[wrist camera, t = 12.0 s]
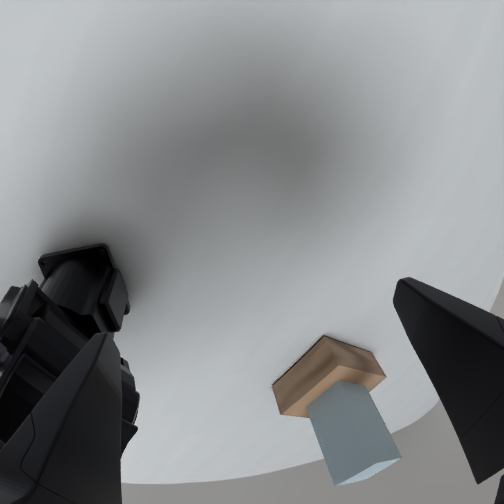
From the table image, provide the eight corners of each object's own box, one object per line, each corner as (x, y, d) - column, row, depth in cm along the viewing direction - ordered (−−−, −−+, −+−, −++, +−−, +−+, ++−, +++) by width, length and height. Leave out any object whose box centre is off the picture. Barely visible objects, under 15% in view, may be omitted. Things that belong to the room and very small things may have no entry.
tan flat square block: (272, 386, 32) (280, 414, 28) (324, 336, 29) (338, 364, 25) (324, 396, 35) (333, 419, 32) (372, 353, 33) (386, 376, 29)
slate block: (305, 407, 29) (334, 485, 20) (337, 380, 27) (376, 463, 18) (335, 410, 31) (364, 479, 22) (365, 385, 29) (401, 457, 20)
